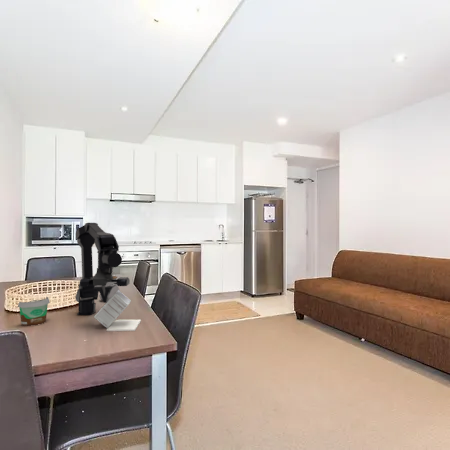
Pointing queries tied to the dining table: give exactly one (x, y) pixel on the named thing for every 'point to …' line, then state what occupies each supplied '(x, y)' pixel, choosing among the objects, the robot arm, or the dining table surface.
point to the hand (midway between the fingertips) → (104, 302)
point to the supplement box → (112, 309)
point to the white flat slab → (124, 325)
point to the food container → (33, 312)
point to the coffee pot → (112, 290)
